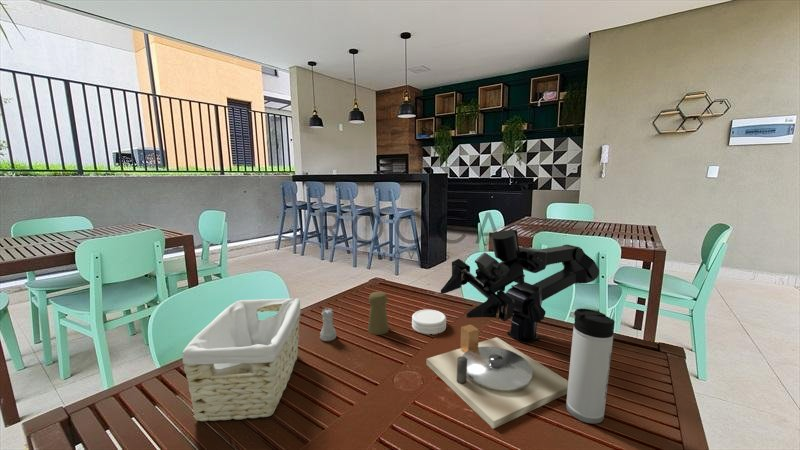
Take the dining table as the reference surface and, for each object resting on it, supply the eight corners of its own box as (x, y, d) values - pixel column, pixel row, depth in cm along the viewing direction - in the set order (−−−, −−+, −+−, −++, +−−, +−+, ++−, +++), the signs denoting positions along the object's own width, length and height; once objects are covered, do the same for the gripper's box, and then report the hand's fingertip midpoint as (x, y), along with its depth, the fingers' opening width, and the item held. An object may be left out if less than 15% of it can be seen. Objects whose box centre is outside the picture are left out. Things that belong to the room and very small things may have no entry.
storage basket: (238, 354, 81) (233, 298, 79) (305, 351, 83) (302, 296, 80) (184, 429, 58) (175, 352, 55) (279, 423, 59) (274, 347, 57)
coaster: (451, 324, 98) (451, 313, 97) (436, 339, 89) (437, 326, 89) (422, 316, 103) (422, 306, 102) (405, 329, 95) (405, 318, 94)
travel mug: (557, 401, 65) (566, 305, 62) (589, 399, 65) (599, 304, 62) (577, 425, 59) (587, 320, 55) (611, 423, 59) (624, 319, 56)
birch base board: (496, 342, 87) (497, 319, 86) (573, 390, 68) (575, 362, 67) (426, 364, 77) (426, 338, 76) (493, 428, 58) (495, 395, 57)
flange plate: (547, 378, 69) (549, 353, 68) (494, 401, 62) (495, 373, 61) (488, 340, 85) (489, 319, 84) (440, 354, 78) (440, 332, 77)
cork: (385, 335, 91) (385, 297, 89) (365, 333, 92) (364, 296, 90) (390, 325, 96) (390, 290, 95) (371, 323, 98) (370, 288, 96)
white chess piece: (339, 335, 90) (339, 308, 89) (329, 343, 86) (329, 314, 85) (326, 332, 92) (325, 305, 91) (316, 339, 88) (315, 311, 87)
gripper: (476, 232, 85) (427, 256, 79) (536, 270, 72) (483, 303, 65) (474, 265, 91) (429, 290, 85) (530, 306, 78) (481, 339, 71)
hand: (453, 303), depth 76 cm, fingers open, 9 cm apart
